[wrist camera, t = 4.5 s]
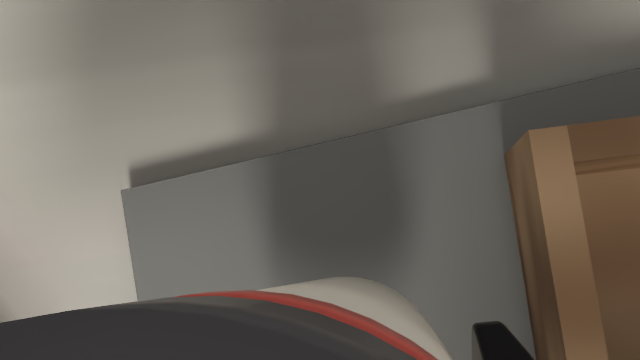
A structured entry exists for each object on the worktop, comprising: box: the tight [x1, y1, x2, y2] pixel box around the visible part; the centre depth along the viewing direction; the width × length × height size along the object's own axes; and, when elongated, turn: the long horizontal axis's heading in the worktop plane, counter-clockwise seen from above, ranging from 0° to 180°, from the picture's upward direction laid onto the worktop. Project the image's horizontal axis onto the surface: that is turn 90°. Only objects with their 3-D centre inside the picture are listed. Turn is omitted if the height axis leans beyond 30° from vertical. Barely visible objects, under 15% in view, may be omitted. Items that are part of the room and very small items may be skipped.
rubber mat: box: [121, 68, 640, 360], centre depth 19 cm, size 24×14×1 cm, turn 102°
